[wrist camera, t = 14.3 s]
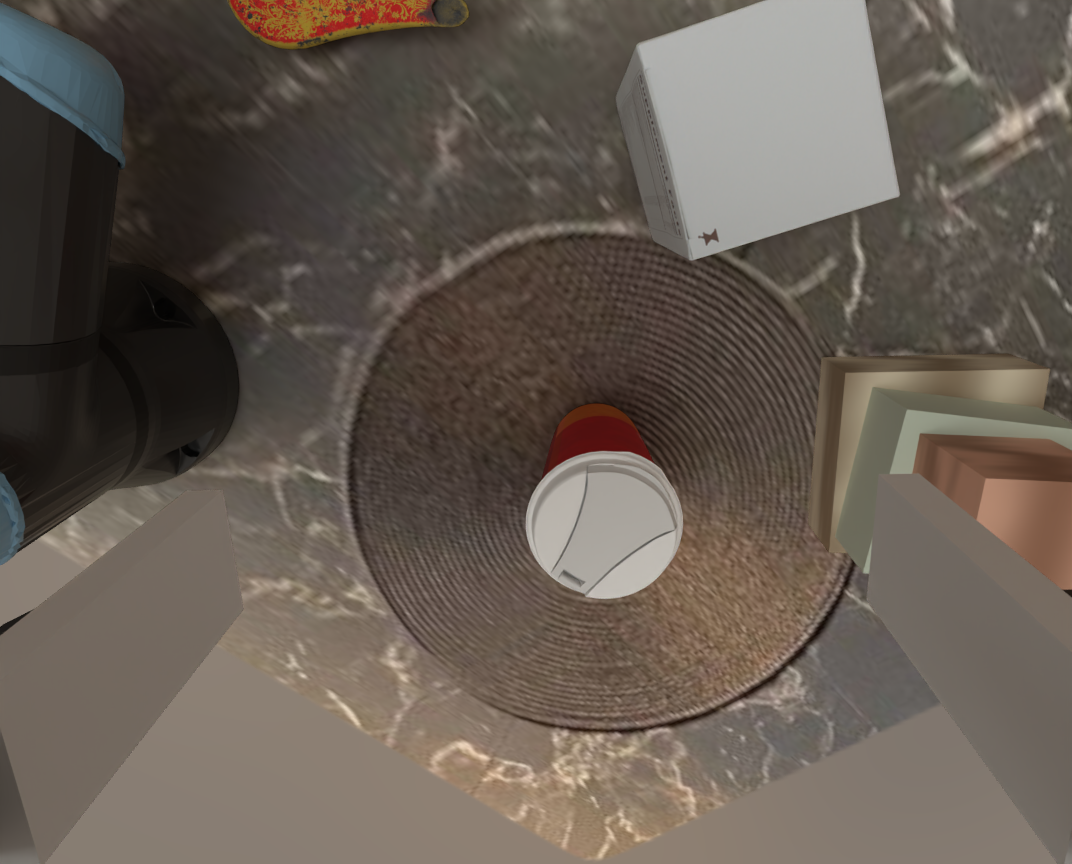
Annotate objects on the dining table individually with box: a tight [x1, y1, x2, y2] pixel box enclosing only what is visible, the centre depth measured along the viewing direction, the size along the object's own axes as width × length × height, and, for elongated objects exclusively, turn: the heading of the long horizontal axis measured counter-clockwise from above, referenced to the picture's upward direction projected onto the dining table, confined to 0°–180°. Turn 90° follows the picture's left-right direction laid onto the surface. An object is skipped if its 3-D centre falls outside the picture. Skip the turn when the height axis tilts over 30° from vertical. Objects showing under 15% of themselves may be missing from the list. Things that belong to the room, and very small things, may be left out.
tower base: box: [808, 354, 1050, 553], centre depth 50 cm, size 12×12×5 cm
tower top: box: [835, 387, 1072, 574], centre depth 46 cm, size 10×10×5 cm
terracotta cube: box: [912, 433, 1072, 590], centre depth 40 cm, size 7×7×7 cm
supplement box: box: [616, 0, 900, 261], centre depth 39 cm, size 10×9×17 cm
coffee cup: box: [526, 403, 683, 599], centre depth 46 cm, size 8×8×15 cm
